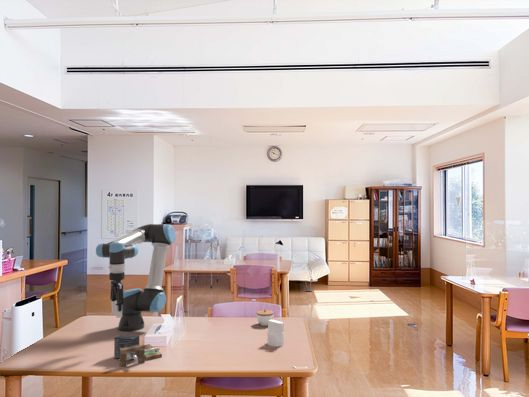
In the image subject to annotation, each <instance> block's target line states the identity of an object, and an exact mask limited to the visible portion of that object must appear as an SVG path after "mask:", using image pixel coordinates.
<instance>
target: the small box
mask: <svg viewBox="0 0 529 397" xmlns="http://www.w3.org/2000/svg"><path fill="white" fill-rule="evenodd" d="M113 341H114V343H113V344H114V348H113V349H114V350H113V352H114V353H113V359H114V360H120V348H121V347H127V346H132V345H137V344H139V345H140V335H137V334H136V335H135V334H118V335H117V336H115V337H114V340H113ZM129 361H132V362H133V361H135V360H134V359H130V360H129Z"/></svg>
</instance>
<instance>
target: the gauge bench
mask: <svg viewBox="0 0 529 397" xmlns="http://www.w3.org/2000/svg"><path fill="white" fill-rule="evenodd" d="M152 349H156V348H155V347H154V346H152V345H151V344H150V343H147V344H139V346H134V347H129V348H124V349H120V359H119V367H120V368H121V369H122V368H126V367H127V363H128V360H127V354H128V353H133V352H138V360H137V363H138V364H139V365H140V364H145V362H146V361H150V360H155V359H160V358H162V357H163V354H162V353H161V352H160V350H157V352H155V351H152V352H147V353H145V351H147V350H152Z"/></svg>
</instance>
